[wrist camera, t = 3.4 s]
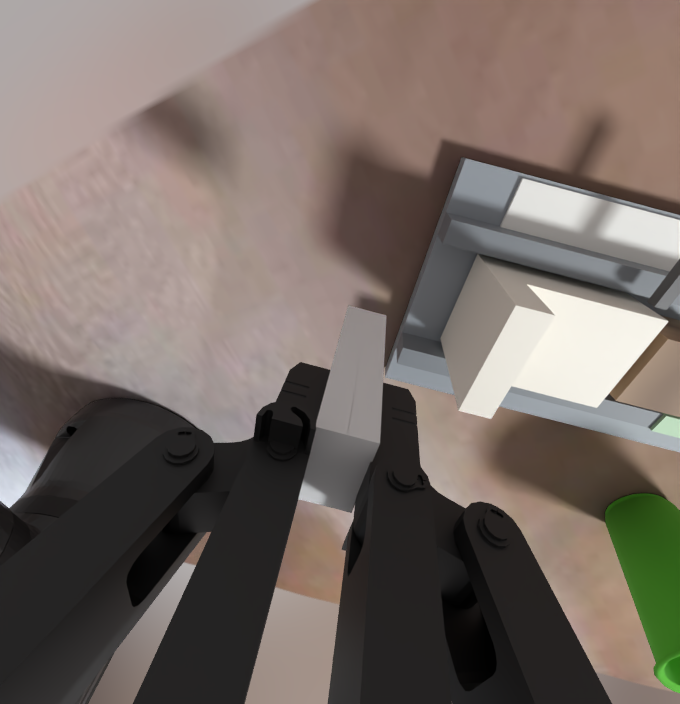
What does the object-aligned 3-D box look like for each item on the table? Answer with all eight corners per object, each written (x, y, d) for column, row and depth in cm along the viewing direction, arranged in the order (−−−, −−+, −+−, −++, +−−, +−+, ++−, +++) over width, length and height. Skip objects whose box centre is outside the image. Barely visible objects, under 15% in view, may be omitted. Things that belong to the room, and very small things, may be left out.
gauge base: (385, 367, 26) (384, 452, 19) (461, 156, 19) (504, 170, 12) (720, 453, 26) (838, 566, 20) (926, 280, 19) (1236, 364, 12)
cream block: (440, 338, 23) (458, 410, 17) (524, 148, 17) (597, 155, 11) (569, 371, 23) (632, 454, 17) (696, 194, 17) (860, 225, 11)
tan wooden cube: (581, 360, 23) (615, 400, 19) (622, 305, 20) (668, 339, 17) (641, 376, 23) (685, 418, 19) (687, 322, 20) (746, 359, 17)
